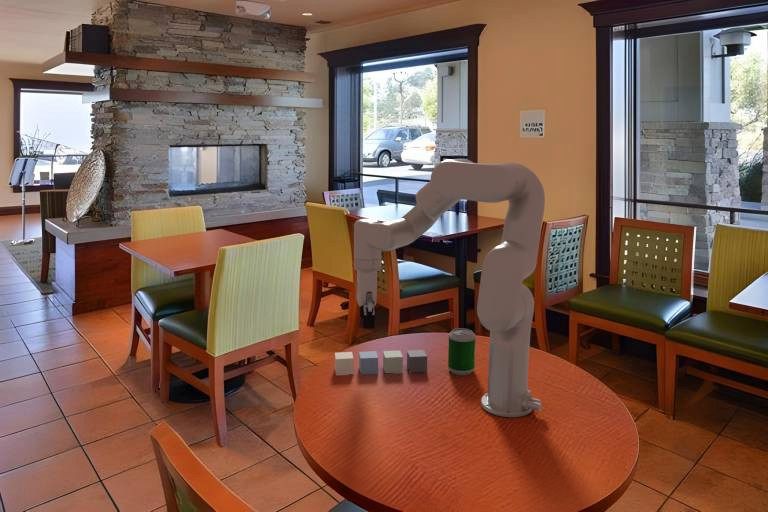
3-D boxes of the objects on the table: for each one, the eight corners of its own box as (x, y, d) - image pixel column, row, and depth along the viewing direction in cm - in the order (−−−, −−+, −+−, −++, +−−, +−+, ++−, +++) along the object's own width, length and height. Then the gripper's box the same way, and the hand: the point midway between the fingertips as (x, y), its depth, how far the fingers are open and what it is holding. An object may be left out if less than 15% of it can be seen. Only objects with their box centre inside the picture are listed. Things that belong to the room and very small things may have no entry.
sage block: (400, 366, 166) (400, 350, 165) (402, 373, 161) (402, 356, 160) (383, 367, 166) (383, 351, 165) (385, 374, 161) (385, 357, 160)
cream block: (352, 367, 165) (352, 351, 164) (353, 374, 160) (353, 358, 159) (335, 368, 165) (334, 352, 164) (335, 375, 160) (335, 359, 159)
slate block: (376, 367, 166) (376, 351, 165) (378, 374, 161) (378, 357, 160) (359, 368, 165) (359, 351, 164) (360, 375, 160) (360, 358, 159)
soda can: (473, 377, 158) (475, 336, 156) (446, 375, 160) (447, 335, 157) (474, 367, 165) (476, 328, 163) (449, 365, 167) (450, 326, 164)
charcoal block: (423, 365, 167) (423, 349, 166) (427, 372, 162) (427, 356, 161) (406, 366, 166) (407, 350, 165) (409, 373, 161) (409, 357, 160)
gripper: (351, 257, 165) (351, 313, 168) (356, 271, 148) (356, 333, 151) (377, 256, 166) (376, 312, 169) (384, 270, 149) (384, 332, 152)
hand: (367, 322), depth 160 cm, fingers open, 9 cm apart
